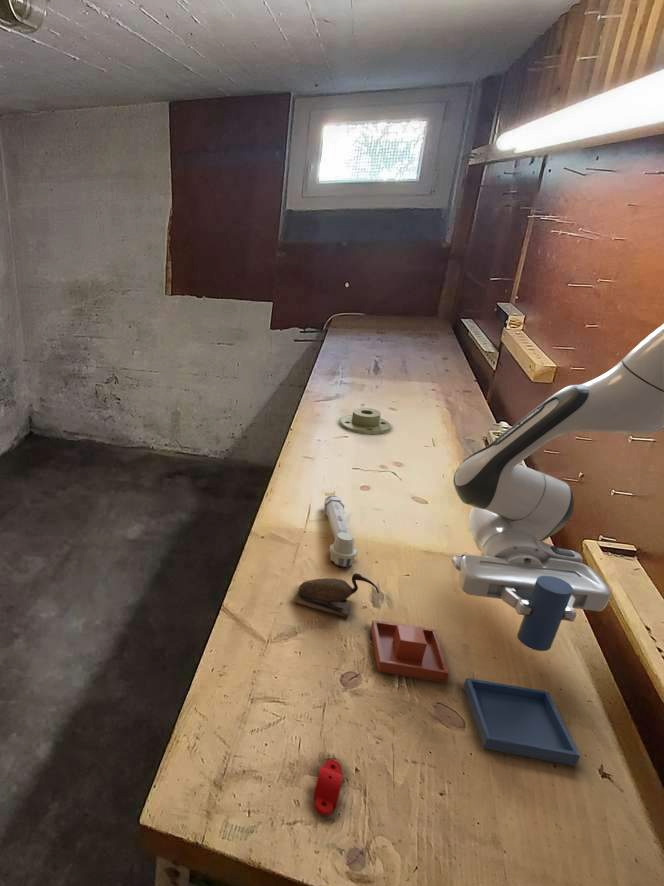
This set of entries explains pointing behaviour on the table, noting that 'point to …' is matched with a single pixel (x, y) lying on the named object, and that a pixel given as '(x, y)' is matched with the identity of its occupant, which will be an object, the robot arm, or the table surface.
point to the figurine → (329, 594)
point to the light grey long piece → (340, 533)
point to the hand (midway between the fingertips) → (547, 614)
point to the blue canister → (545, 612)
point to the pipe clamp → (328, 787)
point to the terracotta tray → (388, 663)
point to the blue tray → (519, 721)
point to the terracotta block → (409, 643)
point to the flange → (365, 422)
